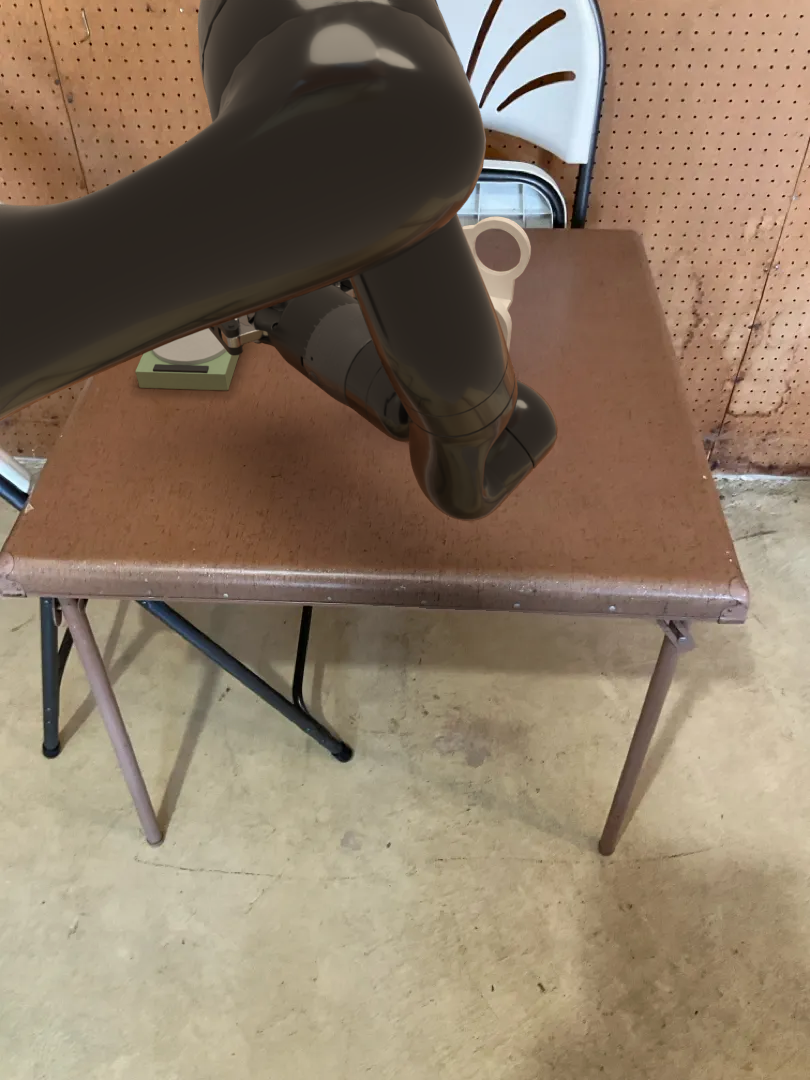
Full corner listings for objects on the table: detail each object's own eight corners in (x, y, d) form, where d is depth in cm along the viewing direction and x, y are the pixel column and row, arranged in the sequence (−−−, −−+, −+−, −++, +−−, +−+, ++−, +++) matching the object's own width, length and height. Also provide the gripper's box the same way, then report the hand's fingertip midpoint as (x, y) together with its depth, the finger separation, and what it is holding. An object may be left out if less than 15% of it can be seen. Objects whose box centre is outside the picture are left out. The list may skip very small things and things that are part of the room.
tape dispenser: (422, 354, 99) (425, 204, 86) (529, 376, 96) (549, 224, 83) (378, 425, 90) (374, 270, 76) (495, 453, 87) (511, 296, 73)
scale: (228, 390, 94) (224, 369, 92) (139, 387, 94) (133, 366, 92) (247, 331, 102) (244, 310, 100) (165, 328, 102) (160, 308, 100)
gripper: (413, 277, 69) (295, 207, 78) (265, 340, 62) (155, 256, 71) (412, 355, 74) (302, 281, 83) (276, 421, 68) (173, 332, 77)
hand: (235, 270), depth 77 cm, fingers closed on light bulb, 6 cm apart
